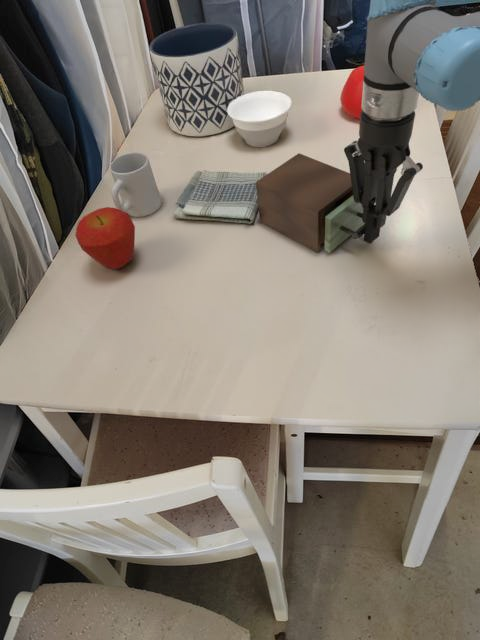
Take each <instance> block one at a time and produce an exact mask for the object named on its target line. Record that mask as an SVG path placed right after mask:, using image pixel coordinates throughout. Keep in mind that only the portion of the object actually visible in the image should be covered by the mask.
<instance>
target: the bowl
mask: <svg viewBox="0 0 480 640" xmlns="http://www.w3.org/2000/svg"><path fill="white" fill-rule="evenodd" d="M292 104H293V103H292V99H291V97H289V95H288V94H286V93H284V92H280V91H276V90H258V91H252V92H248V93H244V95H242V96H240V97H238V98H236V99H235V100H233V101H232V102H231V103H230V104H229V106H228V108H227V113H228V115H229V116H230V117H231V118H233V123H234V125H235V126H234V127H235V130H236V131H237V133H238V134H239V135H240V136H241V137H242V138H243V139H244V140H245V143H246V144H247V145H248V146H250V147H254V148H263V147H268V146H271V145H273V144H275V143H276V142H278V141H279V138H280V134H281V133H282V132H283V130H284V128H285V126H286V124H287V119H288V114H289V111H290V109H291V108H292Z"/></svg>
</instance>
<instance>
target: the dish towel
mask: <svg viewBox="0 0 480 640" xmlns="http://www.w3.org/2000/svg"><path fill="white" fill-rule="evenodd" d="M267 174H268V172H266V171H264V172H263V171H262V172H233V171H210V170H206V169H205V170H204V169H203V170H197V171H195V173H193V176H192V177H191V179H190V181H189V182H188V184H187V185H186V186H185V188H184V190H183V191H182V193H181V195H180V196H179V197H178V199H176V202H175V204H176V205H177V206H176V209H175V210H174V213H173V215H174V218H175V219H183V220H193V221H212V222H213V221H216V222H224V223H237V224H248V225H251V224H253V223H254V221H255V219H256V216H257V212H258V211H259V208H258V199H257V190H256V182H257V181H258V180H260V179H261V178H263V177H264V176H266V175H267Z"/></svg>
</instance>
